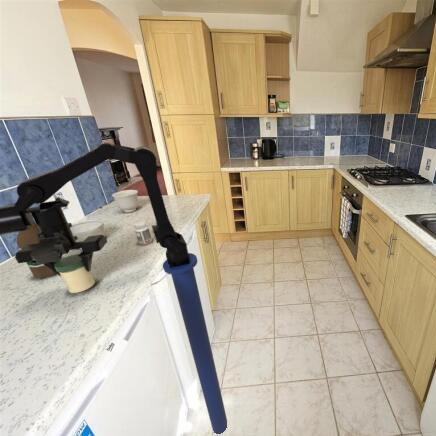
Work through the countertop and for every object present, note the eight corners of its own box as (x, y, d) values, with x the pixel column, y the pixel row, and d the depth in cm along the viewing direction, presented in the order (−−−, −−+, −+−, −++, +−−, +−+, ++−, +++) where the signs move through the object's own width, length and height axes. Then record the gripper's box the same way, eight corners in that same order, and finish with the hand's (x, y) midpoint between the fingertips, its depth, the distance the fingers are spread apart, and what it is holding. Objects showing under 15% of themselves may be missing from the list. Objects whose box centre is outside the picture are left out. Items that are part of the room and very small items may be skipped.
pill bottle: (152, 238, 102) (147, 220, 98) (151, 243, 98) (146, 224, 94) (139, 240, 100) (133, 222, 96) (138, 245, 96) (132, 226, 93)
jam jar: (97, 277, 76) (87, 254, 73) (91, 289, 71) (80, 265, 67) (73, 282, 74) (61, 259, 71) (65, 295, 69) (52, 271, 65)
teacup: (138, 203, 143) (134, 187, 139) (145, 210, 133) (140, 192, 129) (114, 209, 136) (108, 192, 132) (119, 216, 125) (113, 198, 121)
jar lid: (64, 261, 72) (62, 256, 71) (91, 256, 73) (89, 251, 73) (51, 274, 66) (48, 269, 65) (80, 269, 67) (78, 264, 67)
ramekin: (111, 240, 101) (106, 225, 98) (71, 253, 92) (63, 237, 89) (104, 231, 109) (99, 217, 106) (66, 242, 100) (59, 227, 98)
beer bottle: (38, 282, 76) (0, 210, 66) (31, 274, 80) (-7, 206, 70) (69, 269, 82) (38, 202, 72) (60, 262, 86) (30, 198, 76)
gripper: (-17, 244, 55) (16, 298, 61) (80, 231, 60) (101, 283, 66) (17, 225, 65) (43, 273, 71) (98, 215, 69) (116, 261, 76)
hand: (75, 273), depth 71 cm, fingers closed on jar lid, 6 cm apart
